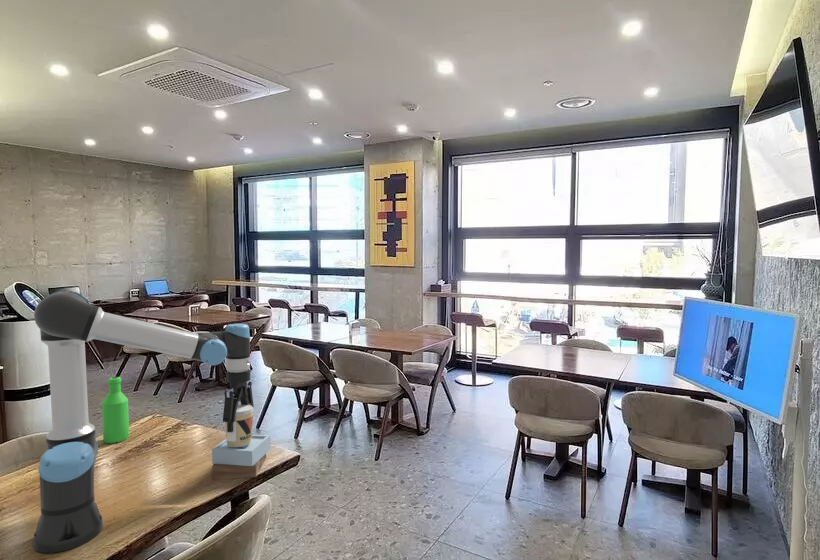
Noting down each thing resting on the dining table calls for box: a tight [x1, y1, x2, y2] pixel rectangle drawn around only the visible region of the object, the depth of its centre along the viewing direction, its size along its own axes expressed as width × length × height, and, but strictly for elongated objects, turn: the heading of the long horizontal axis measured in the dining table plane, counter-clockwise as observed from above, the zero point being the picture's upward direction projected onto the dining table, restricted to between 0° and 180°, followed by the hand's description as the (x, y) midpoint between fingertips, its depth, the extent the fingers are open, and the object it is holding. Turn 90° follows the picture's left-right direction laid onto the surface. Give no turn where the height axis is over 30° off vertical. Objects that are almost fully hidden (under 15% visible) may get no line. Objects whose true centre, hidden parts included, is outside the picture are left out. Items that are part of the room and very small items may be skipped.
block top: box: [211, 433, 271, 466], centre depth 163 cm, size 14×14×5 cm
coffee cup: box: [224, 403, 254, 447], centre depth 161 cm, size 9×9×12 cm
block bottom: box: [211, 453, 267, 480], centre depth 163 cm, size 14×14×5 cm
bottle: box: [101, 376, 130, 444], centre depth 188 cm, size 9×9×25 cm
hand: (239, 435), depth 162 cm, fingers closed on coffee cup, 9 cm apart
